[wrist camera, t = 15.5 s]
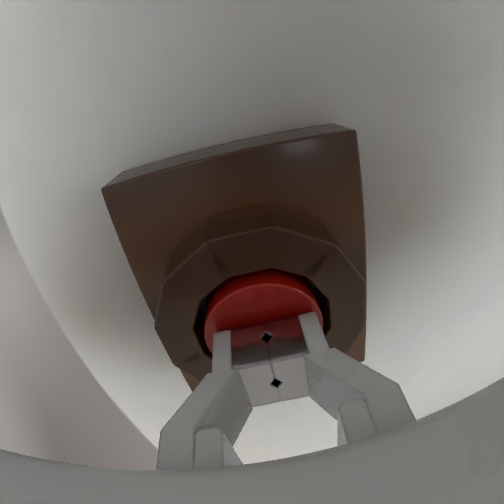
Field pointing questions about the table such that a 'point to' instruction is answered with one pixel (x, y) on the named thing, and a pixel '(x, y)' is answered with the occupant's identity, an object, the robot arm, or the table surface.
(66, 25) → the table surface
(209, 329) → the button
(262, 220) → the button block
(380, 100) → the table surface
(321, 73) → the table surface
